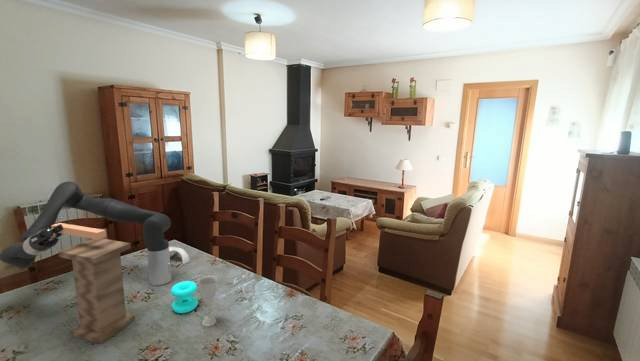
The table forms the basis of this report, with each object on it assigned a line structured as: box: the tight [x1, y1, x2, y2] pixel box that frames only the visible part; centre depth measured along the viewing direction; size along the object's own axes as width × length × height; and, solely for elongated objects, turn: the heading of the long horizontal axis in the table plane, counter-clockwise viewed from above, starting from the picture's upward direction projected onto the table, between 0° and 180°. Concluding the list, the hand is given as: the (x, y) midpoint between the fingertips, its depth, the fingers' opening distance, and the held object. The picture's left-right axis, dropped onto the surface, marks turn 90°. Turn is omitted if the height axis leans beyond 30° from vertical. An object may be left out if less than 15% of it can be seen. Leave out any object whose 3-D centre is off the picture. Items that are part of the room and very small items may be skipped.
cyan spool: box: [170, 280, 199, 314], centre depth 128 cm, size 10×10×10 cm
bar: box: [51, 222, 107, 240], centre depth 111 cm, size 22×3×2 cm, turn 74°
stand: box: [57, 238, 136, 345], centre depth 112 cm, size 16×14×32 cm
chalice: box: [197, 274, 218, 327], centre depth 119 cm, size 7×7×18 cm
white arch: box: [169, 246, 191, 265], centre depth 174 cm, size 24×12×7 cm, turn 64°
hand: (66, 225), depth 112 cm, fingers closed on bar, 3 cm apart
